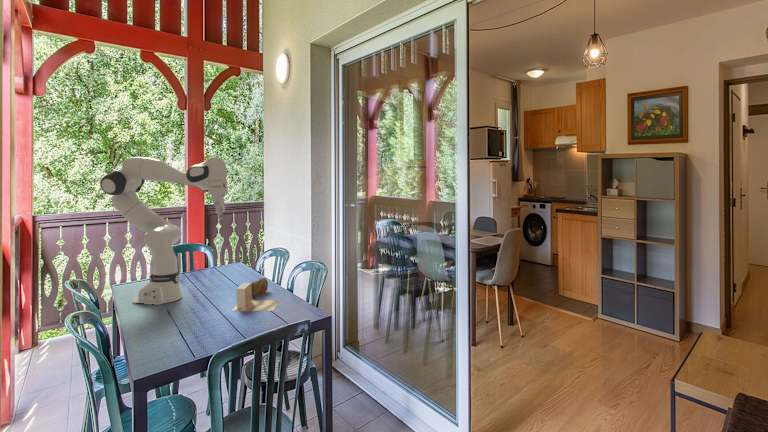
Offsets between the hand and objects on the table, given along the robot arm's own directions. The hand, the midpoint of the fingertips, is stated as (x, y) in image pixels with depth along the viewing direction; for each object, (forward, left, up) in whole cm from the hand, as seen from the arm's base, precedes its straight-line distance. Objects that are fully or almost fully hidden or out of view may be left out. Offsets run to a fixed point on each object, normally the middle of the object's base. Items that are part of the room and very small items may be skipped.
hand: (219, 216), depth 179 cm
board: (+15, +3, -46) cm, 48 cm away
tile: (+9, +4, -45) cm, 46 cm away
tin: (+11, +22, -46) cm, 52 cm away
